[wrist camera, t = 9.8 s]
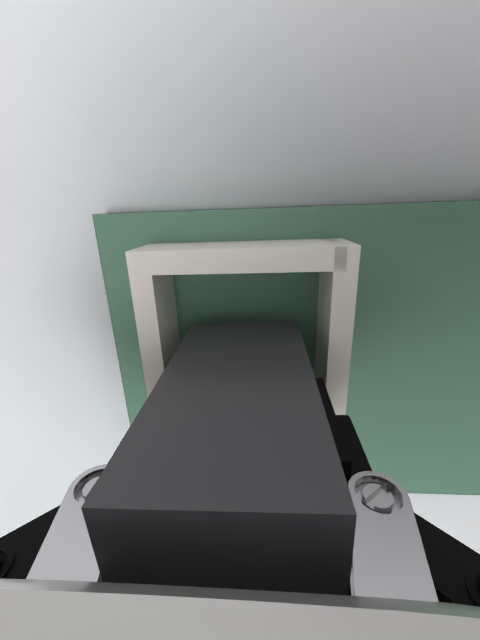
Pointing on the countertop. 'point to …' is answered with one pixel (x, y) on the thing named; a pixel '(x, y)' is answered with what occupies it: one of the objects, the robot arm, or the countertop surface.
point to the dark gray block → (228, 473)
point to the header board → (323, 313)
